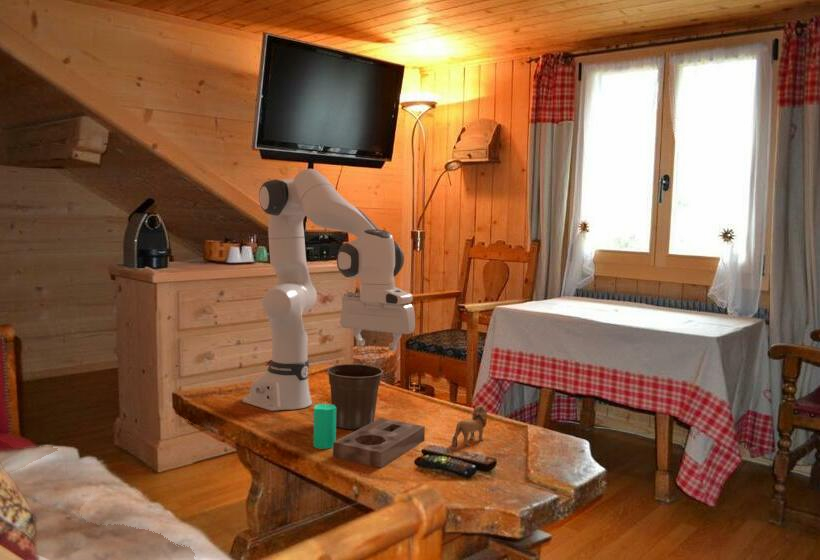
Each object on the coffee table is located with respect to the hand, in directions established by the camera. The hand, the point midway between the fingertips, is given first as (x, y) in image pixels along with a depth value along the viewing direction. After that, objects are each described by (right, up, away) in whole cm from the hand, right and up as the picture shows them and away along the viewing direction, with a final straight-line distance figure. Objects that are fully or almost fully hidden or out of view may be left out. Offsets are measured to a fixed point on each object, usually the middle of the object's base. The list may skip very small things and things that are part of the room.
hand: (376, 348), depth 177 cm
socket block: (+1, -27, +7) cm, 28 cm away
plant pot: (-8, -25, +27) cm, 37 cm away
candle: (-14, -27, +8) cm, 31 cm away
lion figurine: (+25, -27, +15) cm, 40 cm away
